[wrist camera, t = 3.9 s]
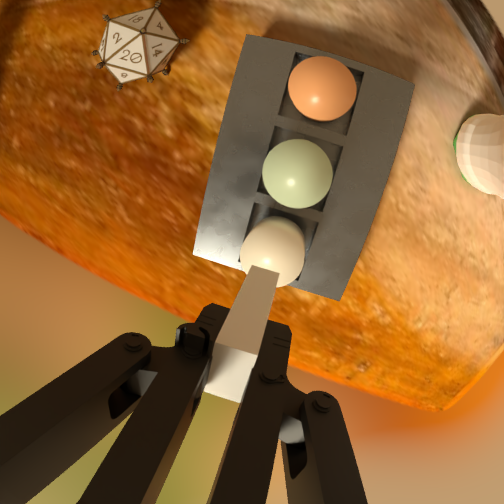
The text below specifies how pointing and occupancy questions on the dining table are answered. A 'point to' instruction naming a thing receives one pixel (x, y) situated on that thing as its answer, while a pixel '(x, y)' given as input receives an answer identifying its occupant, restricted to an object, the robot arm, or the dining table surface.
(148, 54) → the game die
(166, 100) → the dining table surface
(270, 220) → the ivory button
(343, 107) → the terracotta button
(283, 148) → the sage button
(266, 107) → the panel
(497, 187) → the cup
